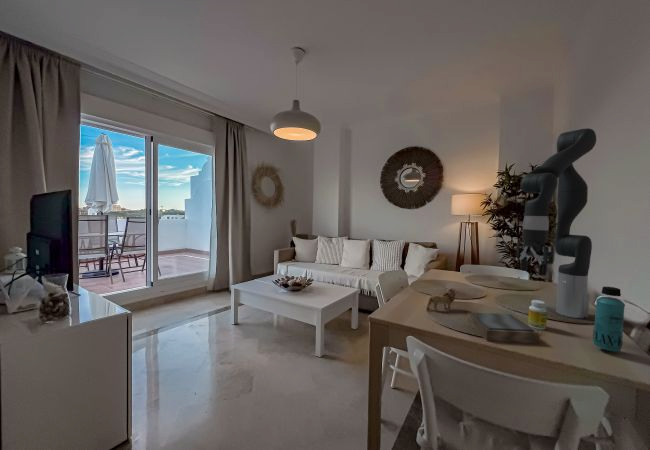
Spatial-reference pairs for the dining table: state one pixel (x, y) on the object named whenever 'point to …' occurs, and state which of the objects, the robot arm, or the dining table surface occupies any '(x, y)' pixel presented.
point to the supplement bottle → (537, 315)
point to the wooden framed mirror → (502, 328)
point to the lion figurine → (442, 299)
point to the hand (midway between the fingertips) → (532, 272)
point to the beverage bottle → (609, 320)
